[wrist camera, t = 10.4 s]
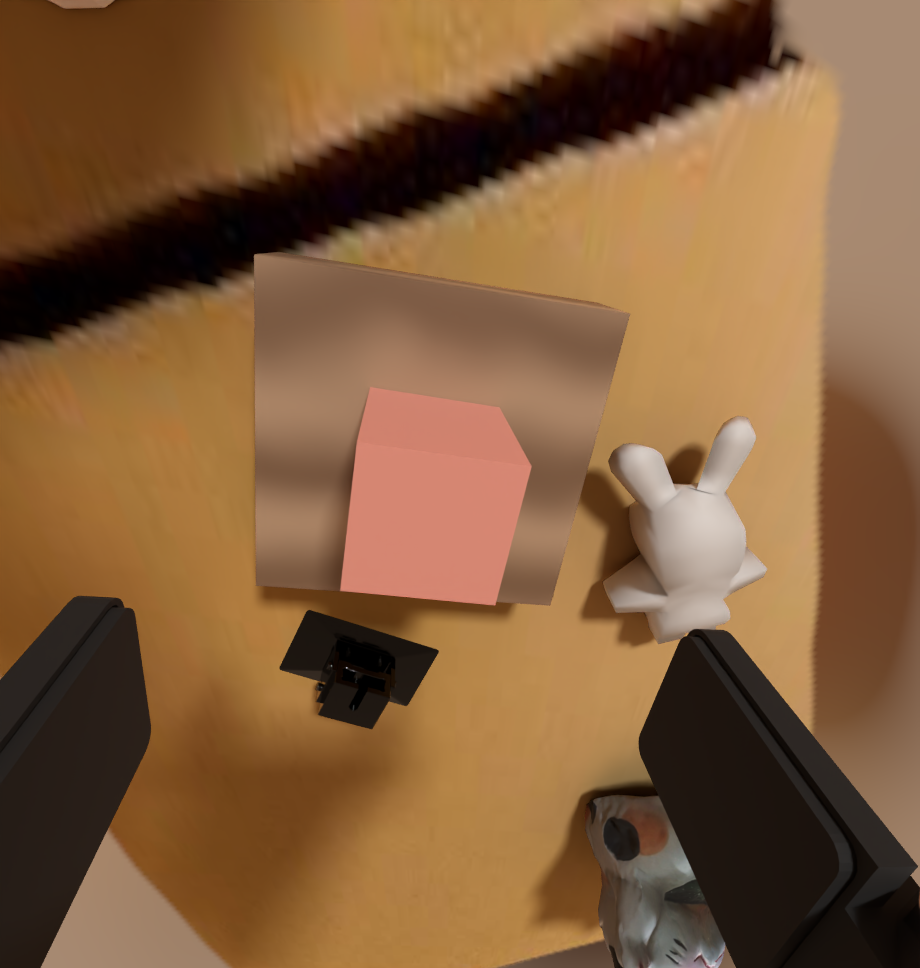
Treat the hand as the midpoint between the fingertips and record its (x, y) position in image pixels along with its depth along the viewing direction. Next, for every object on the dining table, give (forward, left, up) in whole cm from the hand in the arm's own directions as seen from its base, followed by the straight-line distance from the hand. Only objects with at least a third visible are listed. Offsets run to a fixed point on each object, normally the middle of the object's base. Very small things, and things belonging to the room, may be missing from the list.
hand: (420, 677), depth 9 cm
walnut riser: (+3, +1, -22) cm, 22 cm away
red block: (+2, +1, -17) cm, 17 cm away
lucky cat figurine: (+35, +25, -21) cm, 48 cm away
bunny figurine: (+7, +17, -21) cm, 28 cm away
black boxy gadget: (+20, -1, -22) cm, 29 cm away
